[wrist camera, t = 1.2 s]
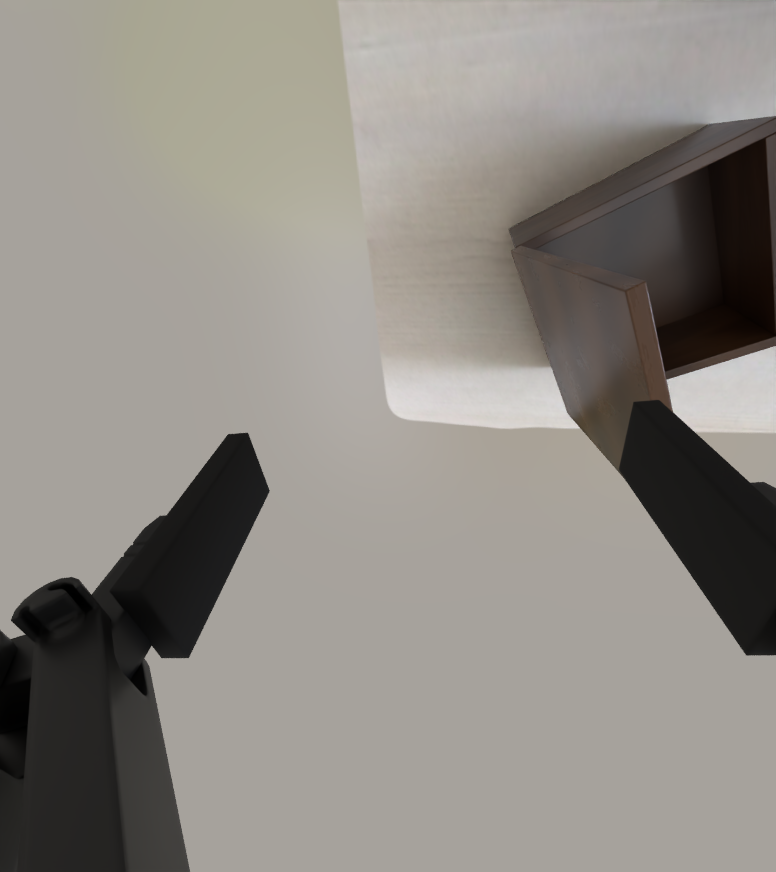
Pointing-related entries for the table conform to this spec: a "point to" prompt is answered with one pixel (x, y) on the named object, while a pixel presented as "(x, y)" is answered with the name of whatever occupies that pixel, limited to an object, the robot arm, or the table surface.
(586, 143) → the table surface
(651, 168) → the chest
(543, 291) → the chest lid
